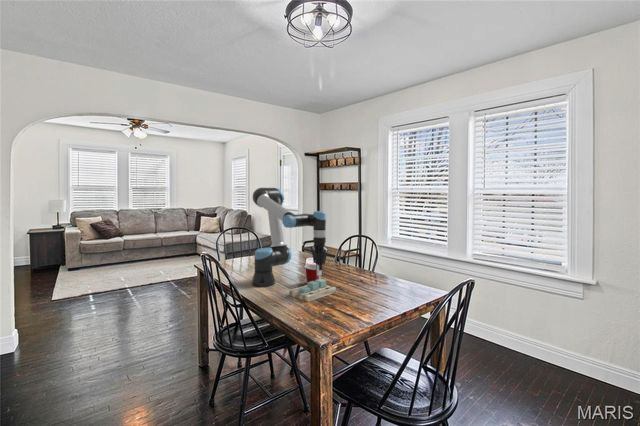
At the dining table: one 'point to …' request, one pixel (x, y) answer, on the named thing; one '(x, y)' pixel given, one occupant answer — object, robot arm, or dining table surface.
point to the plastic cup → (311, 272)
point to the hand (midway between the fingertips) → (319, 275)
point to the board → (312, 293)
